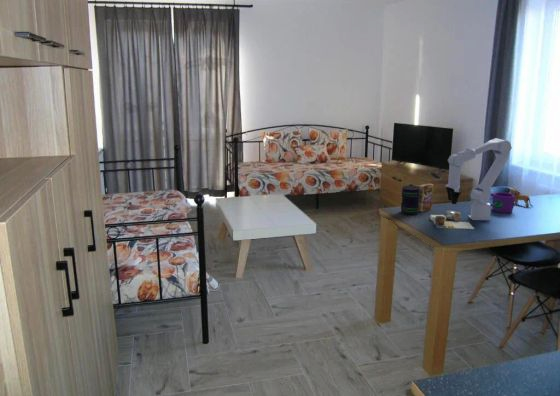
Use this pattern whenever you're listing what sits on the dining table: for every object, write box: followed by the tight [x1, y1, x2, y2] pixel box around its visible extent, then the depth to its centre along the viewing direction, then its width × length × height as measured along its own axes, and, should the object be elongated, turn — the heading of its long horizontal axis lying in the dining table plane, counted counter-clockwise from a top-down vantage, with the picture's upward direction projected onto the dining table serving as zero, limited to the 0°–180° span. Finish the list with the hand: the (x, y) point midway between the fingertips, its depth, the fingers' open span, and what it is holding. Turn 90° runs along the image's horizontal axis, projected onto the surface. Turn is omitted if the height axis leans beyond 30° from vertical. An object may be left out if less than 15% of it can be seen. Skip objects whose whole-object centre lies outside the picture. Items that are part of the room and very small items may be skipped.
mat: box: [432, 220, 475, 230], centre depth 243 cm, size 18×11×1 cm, turn 83°
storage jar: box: [400, 185, 420, 217], centre depth 264 cm, size 10×10×15 cm
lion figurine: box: [508, 188, 534, 208], centre depth 280 cm, size 15×5×9 cm, turn 39°
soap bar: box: [429, 214, 447, 222], centre depth 253 cm, size 7×4×2 cm, turn 90°
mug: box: [487, 191, 515, 214], centre depth 269 cm, size 17×11×10 cm, turn 35°
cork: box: [453, 211, 462, 222], centre depth 250 cm, size 3×3×4 cm
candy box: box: [417, 182, 434, 213], centre depth 270 cm, size 9×4×15 cm, turn 123°
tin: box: [444, 210, 457, 221], centre depth 256 cm, size 6×6×4 cm
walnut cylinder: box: [434, 215, 445, 226], centre depth 243 cm, size 4×4×4 cm
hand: (452, 202), depth 250 cm, fingers open, 7 cm apart
